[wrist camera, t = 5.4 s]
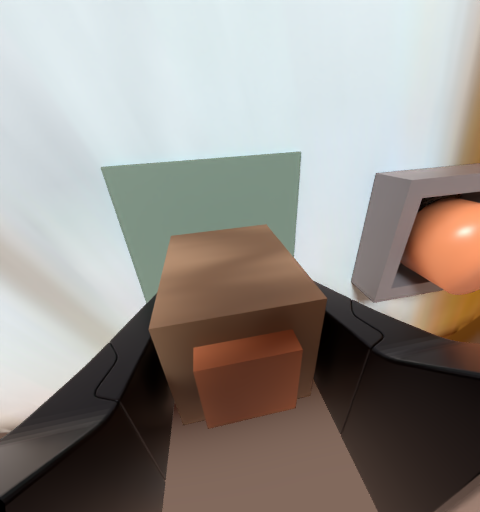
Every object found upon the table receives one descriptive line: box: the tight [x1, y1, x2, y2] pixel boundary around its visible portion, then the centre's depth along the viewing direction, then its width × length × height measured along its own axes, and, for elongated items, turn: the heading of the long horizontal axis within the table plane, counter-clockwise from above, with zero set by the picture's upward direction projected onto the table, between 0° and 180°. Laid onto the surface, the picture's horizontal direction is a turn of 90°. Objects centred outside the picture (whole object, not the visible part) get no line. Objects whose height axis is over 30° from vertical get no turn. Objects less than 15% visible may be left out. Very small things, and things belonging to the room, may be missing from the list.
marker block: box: [149, 224, 327, 429], centre depth 8 cm, size 4×4×6 cm
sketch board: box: [101, 152, 301, 303], centre depth 13 cm, size 10×9×1 cm
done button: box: [400, 197, 480, 295], centre depth 13 cm, size 5×5×3 cm
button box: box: [351, 163, 480, 303], centre depth 15 cm, size 8×8×2 cm
